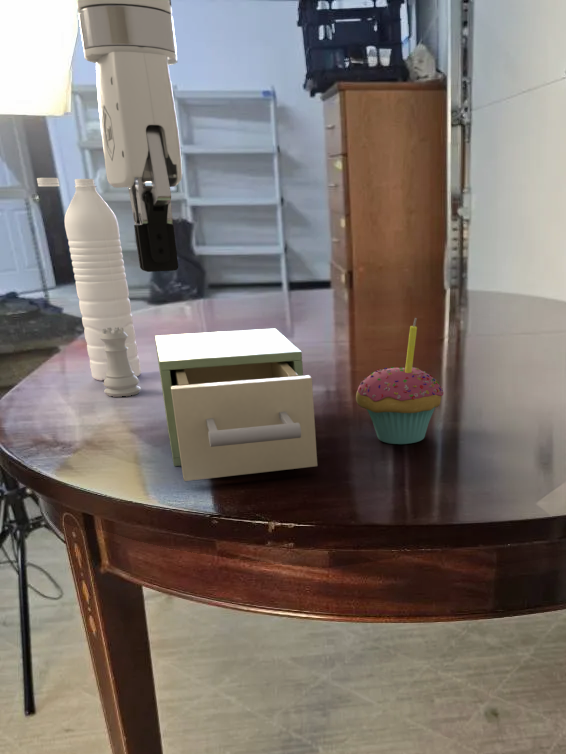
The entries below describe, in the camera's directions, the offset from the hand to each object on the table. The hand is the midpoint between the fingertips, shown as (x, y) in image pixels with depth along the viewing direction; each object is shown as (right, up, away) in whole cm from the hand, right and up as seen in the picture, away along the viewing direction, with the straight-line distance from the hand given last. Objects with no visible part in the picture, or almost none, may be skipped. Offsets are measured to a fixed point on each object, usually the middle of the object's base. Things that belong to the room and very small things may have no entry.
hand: (159, 270), depth 73 cm
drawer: (+9, -18, -3) cm, 20 cm away
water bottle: (-18, -3, +34) cm, 39 cm away
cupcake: (+23, -15, +6) cm, 28 cm away
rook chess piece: (-13, -7, +25) cm, 29 cm away
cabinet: (+5, -15, +7) cm, 17 cm away
